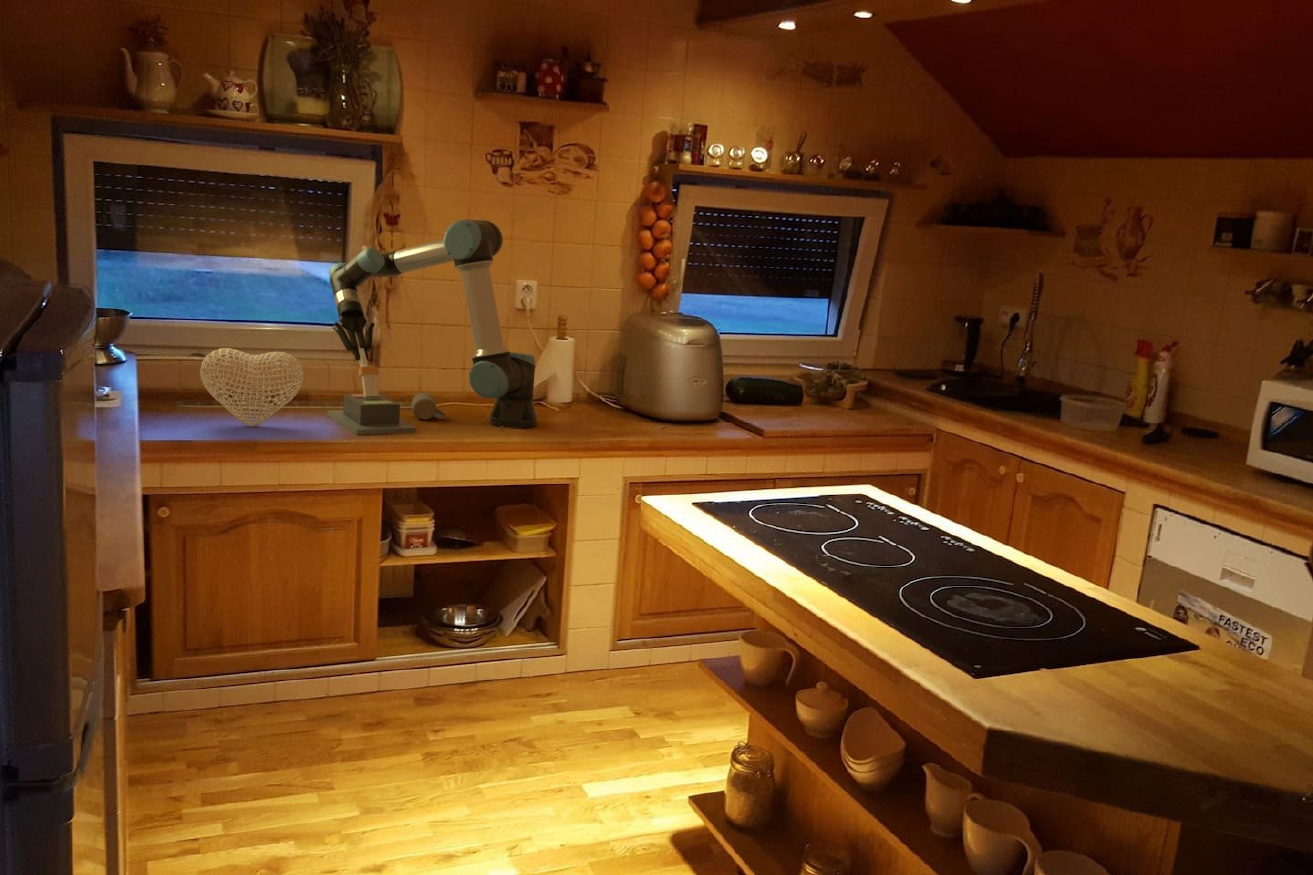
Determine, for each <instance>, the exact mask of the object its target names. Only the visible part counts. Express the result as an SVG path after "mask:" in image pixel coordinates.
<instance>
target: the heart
mask: <svg viewBox="0 0 1313 875" xmlns="http://www.w3.org/2000/svg"><path fill="white" fill-rule="evenodd" d="M231 357H232V358H231ZM236 358H237V359H236ZM218 359H220V360H219V361H217V360H218ZM280 360H281V361H280ZM246 361H247V362H246ZM264 363H265V364H264ZM269 363H270V364H269ZM217 364H218V365H217ZM259 364H260V365H259ZM246 365H247V366H246ZM283 366H284V367H283ZM269 367H270V369H269ZM274 367H275V368H274ZM219 370H220V371H219ZM303 371H304V370H303V367H302V365H301V363H300V361H299V360H298V359H297V358H296V357H294V356H293V354H290V353H287V352H285V351H270V352H264V353H260V354H249V353H247V352H244V351H242V350H238V349H234V348H232V347H231V348H230V347H228V348H227V347H221V348H219V349H214V350H212V351H211V352H210V353H208V354H207V355H206V356H205V357H204V358H203V360H202V361H201V364H200V369H199V372H200V373H199V374H200V379H201V382H202V384H203V386H204V388H205V389H206V391H207V392H208V394H210V395H211V396H212V397H213V398H214V399H215V400H216V402H218V403H219V404H220V405H222V406H223V407H224V408H225V409H226V410H227V411H228V412H230V413H231V415H232V416H234V417H235V419H237V420H238V421H240V422H241V423H242V424H244V425H246V426H247V427H252V428H253V427H258V426H259V425H262V424H263V423H264V422H265V421H267V420H268V419H269V418H271V417H272V416H274V414H276V413H278V411H279V410H281V409H282V408H283V407H285V406H286V405H287V404H288V403H289V402H291V401H292V400H293V399H294V397H296V396H297V394H298V392H299V391H300V390H301V387H302V385H303V382H304V372H303ZM230 372H231V373H230ZM235 373H236V374H235ZM217 376H218V378H216V377H217ZM289 376H290V377H291V378H290V377H289ZM244 377H245V378H244ZM285 377H286V379H285ZM228 379H229V380H228ZM272 379H273V381H272ZM233 380H234V382H233ZM238 381H240V383H239V382H238ZM290 381H291V382H290ZM243 382H245V383H243ZM226 383H228V385H227V384H226ZM248 383H250V384H248ZM280 383H281V384H280ZM285 383H286V384H285ZM231 385H233V387H231ZM236 386H238V388H236ZM259 386H260V387H259ZM220 388H221V389H220ZM242 388H244V389H242ZM248 388H249V389H248ZM227 389H228V391H227ZM276 390H277V391H276ZM265 391H266V392H265ZM271 391H272V392H271ZM242 393H243V394H242ZM285 393H286V394H285ZM230 395H231V396H232V397H230ZM277 395H278V396H277ZM273 396H274V397H273ZM270 401H272V403H270ZM274 404H276V405H274ZM237 405H238V406H237ZM252 410H253V411H252ZM256 410H258V411H256Z"/></svg>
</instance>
